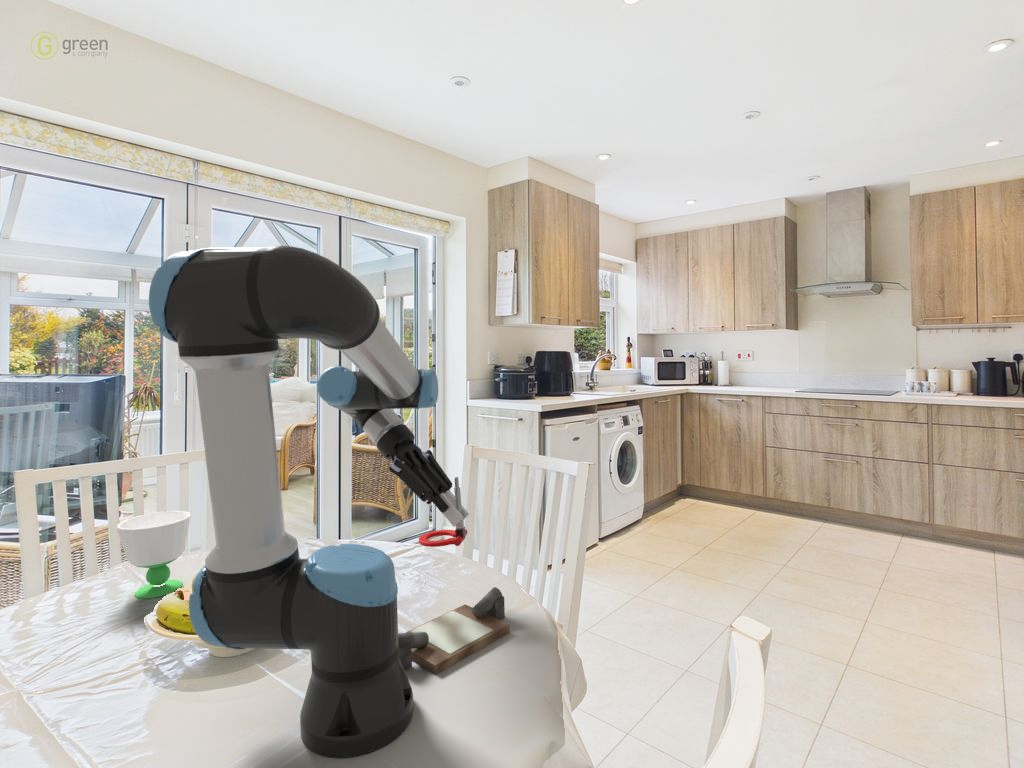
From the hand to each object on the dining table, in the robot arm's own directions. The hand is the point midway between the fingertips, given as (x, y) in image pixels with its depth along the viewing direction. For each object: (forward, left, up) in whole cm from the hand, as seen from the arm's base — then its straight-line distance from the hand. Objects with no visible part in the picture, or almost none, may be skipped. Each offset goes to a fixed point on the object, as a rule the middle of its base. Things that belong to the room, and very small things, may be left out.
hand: (461, 520), depth 107 cm
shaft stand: (-10, -8, -17) cm, 22 cm away
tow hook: (-2, +3, -4) cm, 6 cm away
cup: (-39, +58, -18) cm, 72 cm away
